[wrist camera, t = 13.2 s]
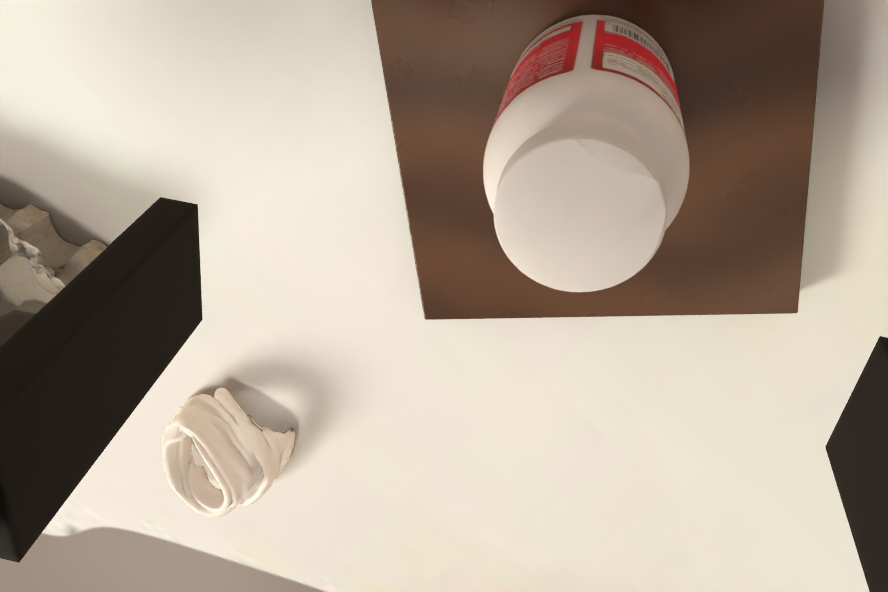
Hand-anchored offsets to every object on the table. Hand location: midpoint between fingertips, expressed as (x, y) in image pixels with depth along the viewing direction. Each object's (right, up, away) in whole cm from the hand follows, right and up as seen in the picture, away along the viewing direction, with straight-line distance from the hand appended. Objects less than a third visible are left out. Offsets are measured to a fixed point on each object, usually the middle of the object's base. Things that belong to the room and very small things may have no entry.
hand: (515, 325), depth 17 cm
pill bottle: (+4, +8, +16) cm, 18 cm away
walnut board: (+4, +9, +17) cm, 20 cm away
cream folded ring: (-13, -7, +31) cm, 34 cm away
